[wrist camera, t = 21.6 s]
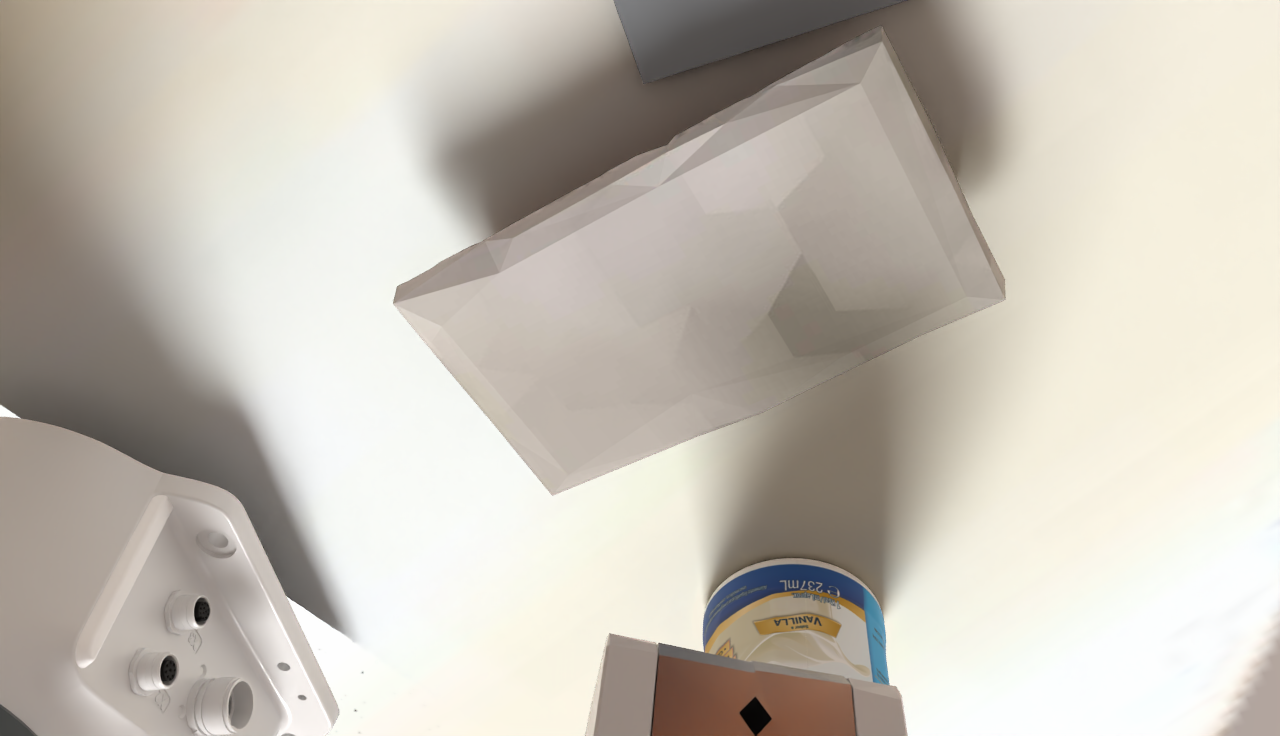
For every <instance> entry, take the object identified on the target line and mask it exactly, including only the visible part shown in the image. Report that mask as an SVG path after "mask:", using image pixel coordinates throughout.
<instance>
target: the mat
mask: <svg viewBox="0 0 1280 736" xmlns="http://www.w3.org/2000/svg"><path fill="white" fill-rule="evenodd" d="M903 1H907V0H614V3H615V6H616V8H617V11H618V14H619V17H620V20H621V22H622V25H623V28H624V31H625V33H626V36H627V39H628V42H629V45H630V47H631V50H632V53H633V56H634V58H635V61H636V64H637V67H638V70H639V72H640V75H641V78H642V81H643V83H644V84H646V83H649V82H652V81H655V80H658V79H662V78H665V77H668V76H671V75H674V74H677V73H680V72H684V71H687V70H690V69H693V68H696V67H699V66H702V65H706V64H709V63H712V62H715V61H718V60H721V59H724V58H728V57H731V56H734V55H737V54H740V53H743V52H746V51H750V50H753V49H756V48H759V47H762V46H765V45H768V44H772V43H775V42H778V41H781V40H784V39H787V38H790V37H794V36H797V35H800V34H803V33H806V32H809V31H812V30H815V29H819V28H822V27H825V26H828V25H831V24H834V23H837V22H841V21H844V20H847V19H850V18H853V17H856V16H859V15H863V14H866V13H869V12H872V11H875V10H878V9H881V8H885V7H888V6H891V5H894V4H897V3H900V2H903Z"/></svg>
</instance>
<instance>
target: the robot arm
mask: <svg viewBox="0 0 1280 736" xmlns="http://www.w3.org/2000/svg"><path fill="white" fill-rule="evenodd" d="M338 716H339V708H338V705H337V703H336V700H335V698H334V696H333V694H332V692H331V690H330V687H329V685H328V683H327V681H326V679H325V677H324V675H323V673H322V671H321V669H320V666H319V664H318V662H317V660H316V658H315V656H314V654H313V652H312V650H311V647H310V645H309V643H308V641H307V639H306V637H305V635H304V633H303V631H302V629H301V626H300V624H299V622H298V620H297V618H296V616H295V614H294V612H293V610H292V608H291V605H290V603H289V601H288V599H287V597H286V595H285V593H284V591H283V589H282V586H281V584H280V582H279V580H278V578H277V576H276V574H275V572H274V570H273V568H272V565H271V563H270V561H269V559H268V557H267V555H266V553H265V551H264V549H263V547H262V544H261V542H260V540H259V538H258V536H257V534H256V532H255V530H254V528H253V525H252V523H251V521H250V519H249V517H248V515H247V513H246V511H245V509H244V507H243V505H242V504H241V502H240V501H239V500H238V499H237V498H236V497H235V496H234V495H233V494H231V493H230V492H228V491H226V490H225V489H222V488H220V487H218V486H215V485H212V484H209V483H205V482H201V481H198V480H194V479H189V478H185V477H181V476H176V475H172V474H167V473H163V472H160V471H158V470H155V469H153V468H151V467H149V466H147V465H145V464H142V463H141V462H139V461H137V460H135V459H133V458H131V457H129V456H127V455H126V454H124V453H122V452H120V451H118V450H116V449H114V448H112V447H110V446H108V445H106V444H104V443H102V442H100V441H97V440H95V439H93V438H90V437H88V436H85V435H82V434H80V433H77V432H74V431H71V430H68V429H65V428H62V427H59V426H55V425H51V424H47V423H43V422H38V421H33V420H27V419H20V418H11V417H0V736H326V735H327V734H328V733H329V732H330V730H331V729H332V728H333V726H334V724H335V722H336V720H337V718H338ZM585 736H908V735H907V728H906V721H905V714H904V708H903V701H902V696H901V694H900V692H899V690H898V689H897V687H896V686H890V685H885V684H879V683H874V682H868V681H863V680H857V679H852V678H845V677H844V676H840V675H834V674H828V673H822V672H816V671H810V670H804V669H798V668H792V667H787V666H781V665H775V664H769V663H763V662H757V661H750V662H748V661H743V660H738V659H734V658H729V657H724V656H719V655H714V654H710V653H705V652H700V651H695V650H691V649H686V648H681V647H676V646H672V645H667V644H662V643H658V644H656V643H655V642H650V641H645V640H640V639H635V638H630V637H625V636H620V635H615V634H610V633H609V635H608V636H607V639H606V643H605V647H604V651H603V656H602V660H601V664H600V669H599V673H598V677H597V682H596V686H595V690H594V695H593V699H592V704H591V709H590V713H589V718H588V723H587V728H586V733H585Z"/></svg>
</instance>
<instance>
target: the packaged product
mask: <svg viewBox="0 0 1280 736" xmlns="http://www.w3.org/2000/svg"><path fill="white" fill-rule="evenodd" d="M1004 300H1005V279H1004V277H1003V275H1002V273H1001V271H1000V269H999V267H998V265H997V263H996V261H995V259H994V257H993V255H992V253H991V251H990V249H989V247H988V245H987V243H986V241H985V239H984V237H983V235H982V233H981V231H980V229H979V227H978V225H977V223H976V221H975V219H974V217H973V215H972V213H971V211H970V208H969V206H968V204H967V202H966V199H965V197H964V195H963V193H962V190H961V188H960V186H959V184H958V181H957V179H956V177H955V175H954V173H953V170H952V168H951V166H950V164H949V161H948V159H947V157H946V155H945V152H944V150H943V148H942V146H941V144H940V141H939V139H938V137H937V135H936V132H935V130H934V128H933V126H932V124H931V122H930V120H929V118H928V116H927V114H926V112H925V110H924V108H923V106H922V104H921V102H920V100H919V98H918V96H917V94H916V92H915V90H914V88H913V86H912V84H911V82H910V80H909V78H908V76H907V74H906V72H905V70H904V68H903V66H902V64H901V62H900V61H899V59H898V57H897V55H896V53H895V51H894V49H893V47H892V45H891V43H890V41H889V39H888V37H887V35H886V33H885V31H884V29H883V27H882V25H880V26H878V27H876V28H874V29H872V30H870V31H868V32H866V33H864V34H862V35H860V36H858V37H856V38H854V39H852V40H850V41H848V42H846V43H844V44H842V45H841V46H839V47H837V48H836V49H834V50H832V51H831V52H829V53H827V54H825V55H824V56H822V57H820V58H818V59H816V60H814V61H812V62H810V63H808V64H806V65H804V66H803V67H801V68H799V69H797V70H795V71H794V72H792V73H790V74H788V75H786V76H785V77H783V78H781V79H779V80H777V81H776V82H774V83H772V84H770V85H768V86H767V87H765V88H763V89H762V90H760V91H759V92H757V93H756V94H754V95H752V96H750V97H748V98H745V99H743V100H741V101H739V102H737V103H735V104H733V105H731V106H729V107H727V108H725V109H723V110H721V111H719V112H717V113H716V114H714V115H712V116H710V117H708V118H707V119H705V120H703V121H702V122H700V123H698V124H696V125H694V126H692V127H691V128H689V129H687V130H685V131H683V132H681V133H679V134H677V135H675V136H674V137H673V139H672V140H671V141H670V142H669V143H668V145H665V146H662V147H659V148H656V149H654V150H651V151H648V152H645V153H642V154H640V155H637V156H635V157H633V158H631V159H630V160H628V161H626V162H624V163H622V164H620V165H618V166H617V167H615V168H613V169H611V170H609V171H607V172H606V173H604V174H603V175H601V176H600V177H598V178H596V179H594V180H592V181H590V182H588V183H587V184H585V185H583V186H581V187H579V188H577V189H575V190H573V191H571V192H570V193H568V194H566V195H564V196H562V197H560V198H559V199H557V200H555V201H553V202H551V203H550V204H548V205H546V206H544V207H542V208H541V209H539V210H537V211H535V212H533V213H531V214H530V215H528V216H526V217H524V218H522V219H521V220H519V221H517V222H515V223H513V224H512V225H510V226H508V227H506V228H505V229H503V230H501V231H499V232H497V233H496V234H494V235H492V236H490V237H488V238H487V239H485V240H483V241H482V242H480V243H478V244H475V245H473V246H470V247H468V248H466V249H464V250H462V251H460V252H458V253H456V254H455V255H453V256H451V257H449V258H447V259H445V260H443V261H441V262H440V263H438V264H437V265H435V266H434V267H433V268H431V269H429V270H428V271H426V272H424V273H422V274H420V275H418V276H417V277H415V278H413V279H411V280H409V281H407V282H405V283H403V284H401V285H399V286H397V289H396V293H395V297H394V301H393V304H394V306H395V307H396V308H397V309H398V310H399V312H400V313H401V314H402V315H403V317H404V318H405V319H406V320H407V321H408V323H409V324H410V325H411V326H412V328H413V329H414V330H415V331H416V332H417V334H418V335H419V336H420V337H421V338H422V340H423V341H424V342H425V343H426V345H427V346H428V347H429V348H430V349H431V351H432V352H433V353H434V354H435V355H436V356H437V358H438V359H439V360H440V361H441V362H442V364H443V365H444V366H445V367H446V368H447V370H448V371H449V372H450V373H451V374H452V375H453V377H454V378H455V379H456V380H457V381H458V383H459V384H460V385H461V386H462V387H463V389H464V390H465V391H466V392H467V393H468V394H469V396H470V397H471V398H472V399H473V400H474V402H475V403H476V404H477V405H478V406H479V407H480V409H481V410H482V411H483V412H484V413H485V415H486V416H487V417H488V418H489V419H490V421H491V422H492V423H493V424H494V425H495V426H496V428H497V429H498V430H499V431H500V432H501V434H502V435H503V436H504V437H505V439H506V440H507V441H508V442H509V443H510V445H511V446H512V447H513V448H514V450H515V451H516V452H517V453H518V454H519V456H520V457H521V458H522V459H523V461H524V462H525V463H526V464H527V465H528V467H529V468H530V469H531V470H532V471H533V473H534V474H535V475H536V476H537V478H538V479H539V480H540V481H541V482H542V484H543V485H544V486H545V487H546V489H547V490H548V491H549V492H550V493H551V495H552V496H553V495H555V494H558V493H560V492H563V491H565V490H568V489H570V488H572V487H575V486H577V485H580V484H582V483H585V482H587V481H590V480H592V479H595V478H597V477H599V476H602V475H604V474H607V473H609V472H612V471H614V470H617V469H619V468H621V467H624V466H626V465H629V464H631V463H634V462H636V461H639V460H641V459H643V458H646V457H648V456H651V455H653V454H656V453H658V452H661V451H663V450H666V449H668V448H670V447H673V446H675V445H678V444H680V443H683V442H685V441H688V440H690V439H692V438H695V437H697V436H700V435H703V434H706V433H708V432H711V431H714V430H716V429H719V428H722V427H725V426H727V425H730V424H733V423H736V422H738V421H741V420H744V419H747V418H749V417H752V416H755V415H758V414H760V413H763V412H765V411H767V410H769V409H771V408H773V407H775V406H777V405H779V404H781V403H783V402H785V401H787V400H789V399H791V398H793V397H795V396H797V395H799V394H801V393H803V392H805V391H807V390H809V389H811V388H813V387H816V386H818V385H820V384H822V383H824V382H826V381H828V380H830V379H832V378H834V377H836V376H838V375H840V374H842V373H844V372H846V371H848V370H850V369H852V368H855V367H857V366H859V365H861V364H863V363H865V362H867V361H869V360H871V359H873V358H875V357H877V356H879V355H881V354H884V353H886V352H888V351H890V350H892V349H894V348H896V347H898V346H900V345H902V344H904V343H906V342H908V341H910V340H913V339H915V338H917V337H919V336H921V335H923V334H925V333H928V332H930V331H933V330H935V329H937V328H940V327H942V326H944V325H947V324H949V323H952V322H954V321H956V320H959V319H961V318H963V317H966V316H968V315H971V314H973V313H975V312H978V311H980V310H983V309H985V308H987V307H990V306H992V305H994V304H997V303H999V302H1002V301H1004Z"/></svg>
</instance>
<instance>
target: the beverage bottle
mask: <svg viewBox="0 0 1280 736" xmlns="http://www.w3.org/2000/svg"><path fill="white" fill-rule="evenodd" d="M703 646H704V652H705V653H710V654H714V655H719V656H724V657H729V658H734V659H738V660H743V661H748V662H750V661H757V662H763V663H769V664H775V665H781V666H787V667H792V668H798V669H804V670H810V671H816V672H822V673H828V674H834V675H840V676H844V677H845V678H852V679H857V680H863V681H868V682H874V683H879V684H885V685H889V678H888V670H887V662H886V634H885V625H884V618H883V613H882V610H881V607H880V605H879V603H878V601H877V599H876V597H875V596H874V594H873V593H872V592H871V590H870V589H869V588H868V587H867V586H866V585H865V584H864V583H863V582H862V581H860V580H859V579H858V578H857V577H855V576H854V575H852V574H851V573H849V572H847V571H845V570H843V569H841V568H839V567H837V566H834V565H831V564H828V563H825V562H821V561H817V560H811V559H802V558H782V559H774V560H768V561H764V562H760V563H756V564H753V565H751V566H748V567H746V568H744V569H742V570H740V571H738V572H736V573H734V574H733V575H731V576H730V577H729V578H727V579H726V580H725V581H724V582H723V583H722V584H721V585H720V586H719V587H718V588H717V589H716V590H715V592H714V593H713V594H712V596H711V598H710V600H709V602H708V604H707V606H706V609H705V613H704V620H703Z"/></svg>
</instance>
